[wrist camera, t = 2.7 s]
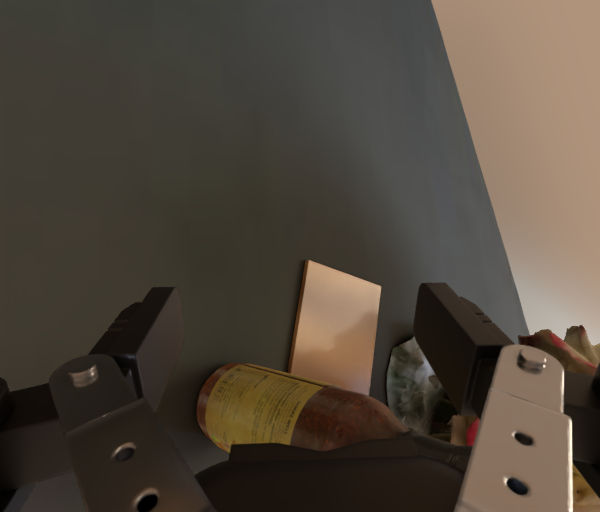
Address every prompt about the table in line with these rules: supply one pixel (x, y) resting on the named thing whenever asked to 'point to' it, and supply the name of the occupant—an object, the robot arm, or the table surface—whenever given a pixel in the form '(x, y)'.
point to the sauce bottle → (301, 414)
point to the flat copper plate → (335, 328)
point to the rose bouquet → (462, 429)
